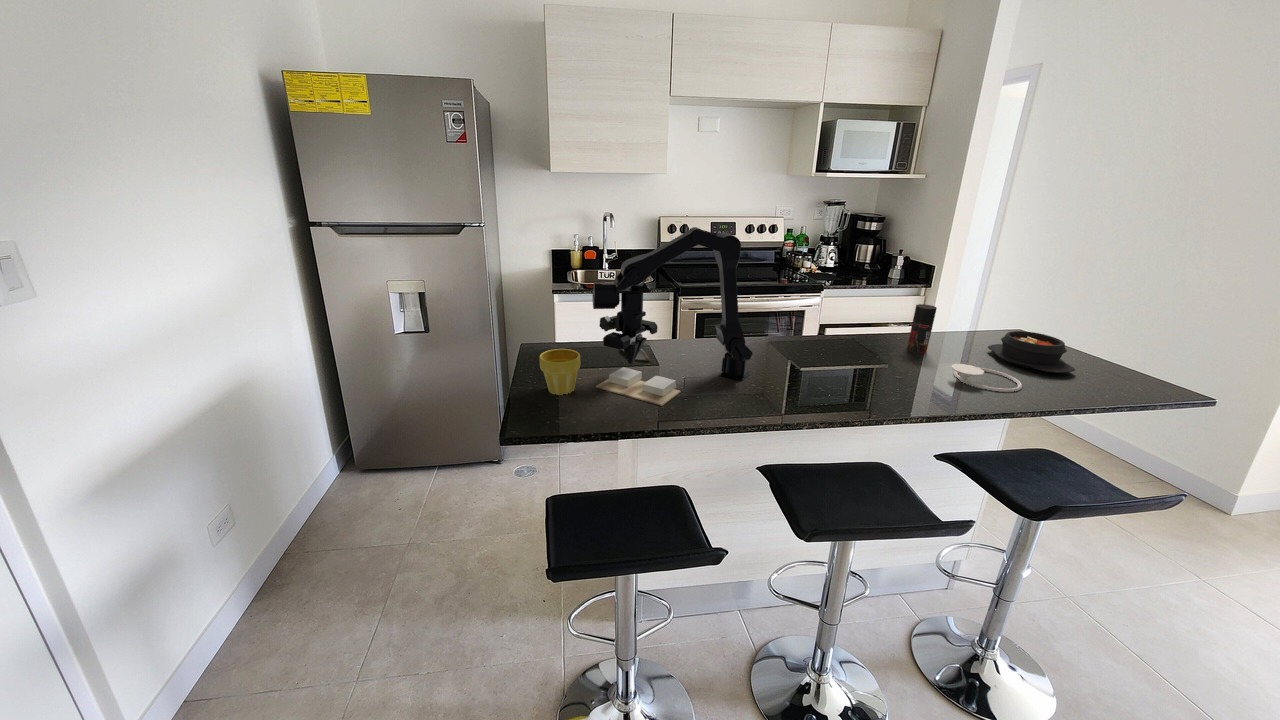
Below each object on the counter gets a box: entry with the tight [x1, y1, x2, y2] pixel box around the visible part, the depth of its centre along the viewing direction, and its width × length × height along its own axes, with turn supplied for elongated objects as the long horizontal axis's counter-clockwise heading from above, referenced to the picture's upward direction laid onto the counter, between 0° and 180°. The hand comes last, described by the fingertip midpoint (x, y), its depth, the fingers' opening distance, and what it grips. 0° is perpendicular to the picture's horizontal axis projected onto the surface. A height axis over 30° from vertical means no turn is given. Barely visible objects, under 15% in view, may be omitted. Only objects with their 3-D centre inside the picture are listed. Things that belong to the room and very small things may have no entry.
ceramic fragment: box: [620, 348, 652, 362], centre depth 164 cm, size 14×5×4 cm, turn 36°
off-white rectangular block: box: [608, 366, 643, 387], centre depth 145 cm, size 6×2×7 cm
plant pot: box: [539, 348, 581, 396], centre depth 138 cm, size 10×10×10 cm
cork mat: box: [595, 378, 681, 407], centre depth 141 cm, size 20×10×1 cm, turn 59°
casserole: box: [987, 330, 1076, 374], centre depth 167 cm, size 25×19×8 cm
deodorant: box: [906, 303, 938, 355], centre depth 174 cm, size 6×6×15 cm
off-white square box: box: [643, 375, 677, 396], centre depth 140 cm, size 6×2×7 cm
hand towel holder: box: [951, 363, 1023, 393], centre depth 153 cm, size 17×4×20 cm
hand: (630, 363), depth 146 cm, fingers closed
